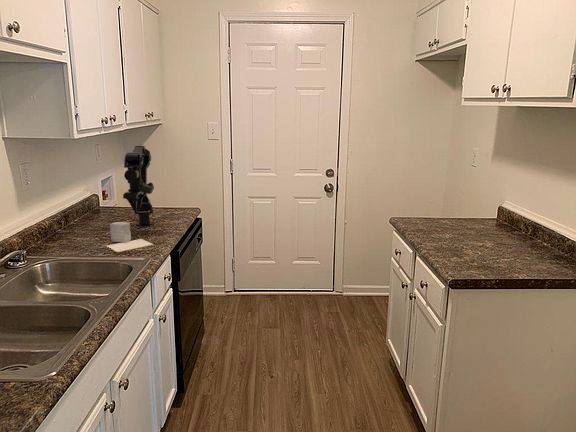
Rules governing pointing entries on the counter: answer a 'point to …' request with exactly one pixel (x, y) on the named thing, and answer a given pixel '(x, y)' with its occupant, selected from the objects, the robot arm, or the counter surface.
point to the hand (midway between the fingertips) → (137, 209)
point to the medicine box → (120, 232)
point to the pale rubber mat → (129, 245)
